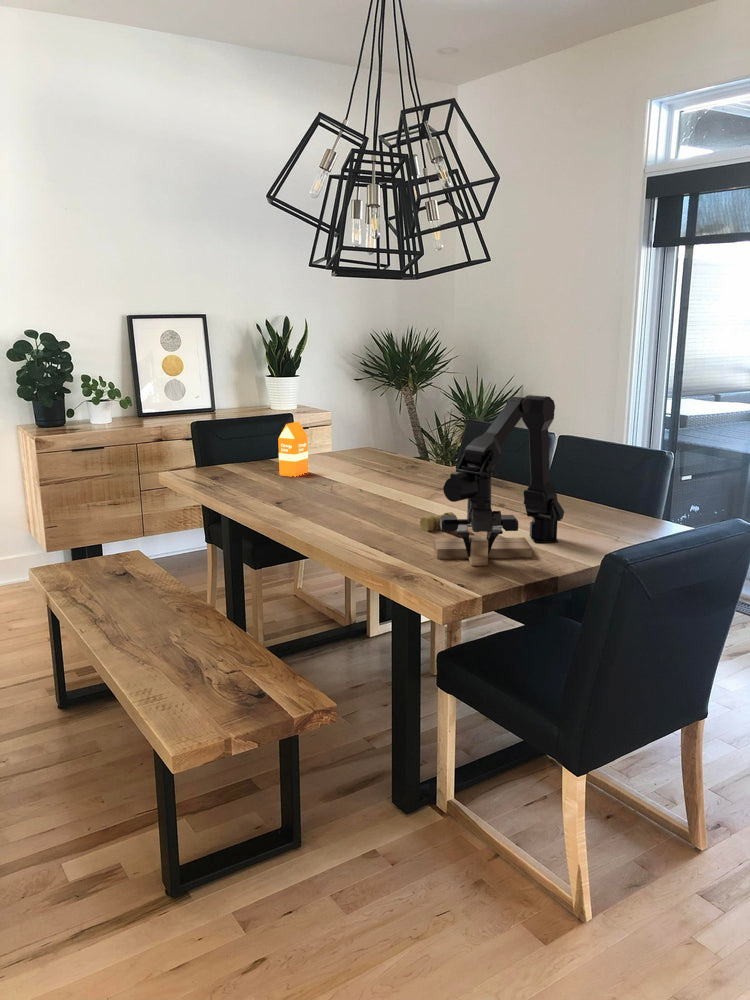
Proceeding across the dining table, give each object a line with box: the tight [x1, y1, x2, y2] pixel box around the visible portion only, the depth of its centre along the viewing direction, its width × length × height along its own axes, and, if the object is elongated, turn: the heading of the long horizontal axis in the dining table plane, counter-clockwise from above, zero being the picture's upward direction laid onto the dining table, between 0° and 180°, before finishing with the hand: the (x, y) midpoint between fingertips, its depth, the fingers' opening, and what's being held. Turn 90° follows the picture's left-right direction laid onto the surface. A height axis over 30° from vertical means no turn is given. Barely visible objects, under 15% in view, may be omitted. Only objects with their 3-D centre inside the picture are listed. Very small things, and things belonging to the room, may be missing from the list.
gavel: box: [419, 511, 475, 538], centre depth 227 cm, size 21×5×10 cm
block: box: [467, 534, 489, 566], centre depth 204 cm, size 4×12×6 cm, turn 1°
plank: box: [433, 537, 533, 560], centre depth 210 cm, size 24×10×2 cm, turn 90°
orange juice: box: [278, 421, 309, 478], centre depth 312 cm, size 8×9×20 cm
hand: (477, 556), depth 201 cm, fingers closed on block, 4 cm apart
